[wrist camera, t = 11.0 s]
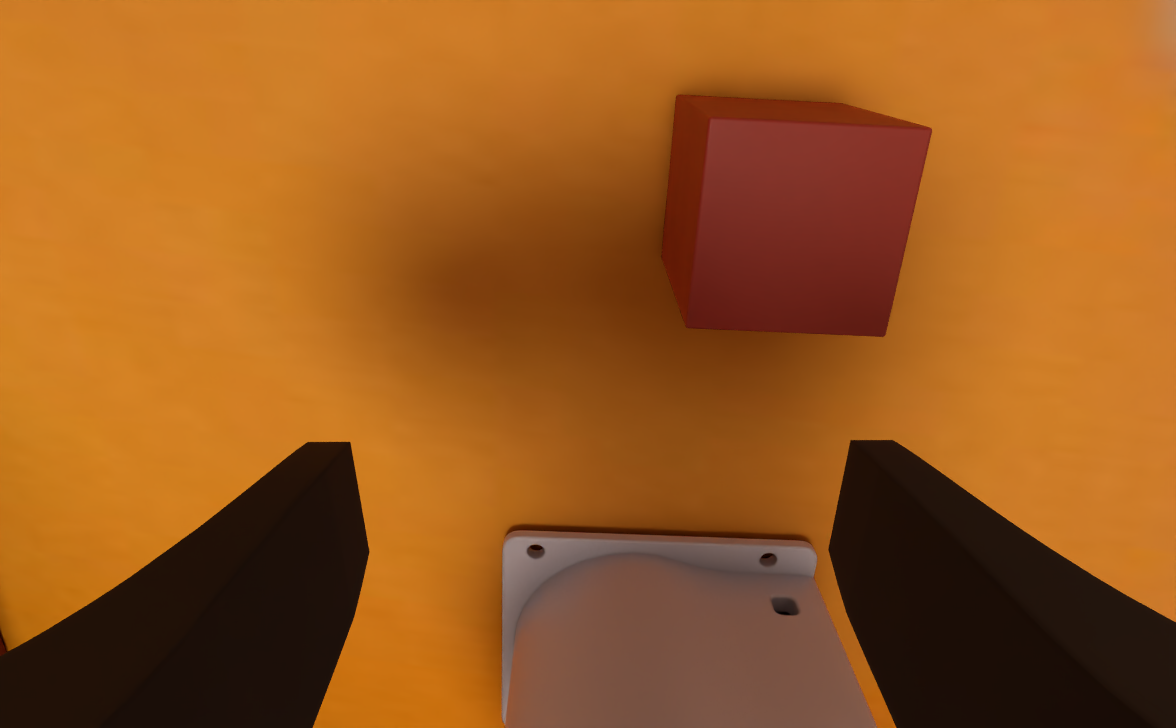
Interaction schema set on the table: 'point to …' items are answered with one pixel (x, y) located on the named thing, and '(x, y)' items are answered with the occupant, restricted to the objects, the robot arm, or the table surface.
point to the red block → (788, 214)
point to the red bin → (2, 647)
